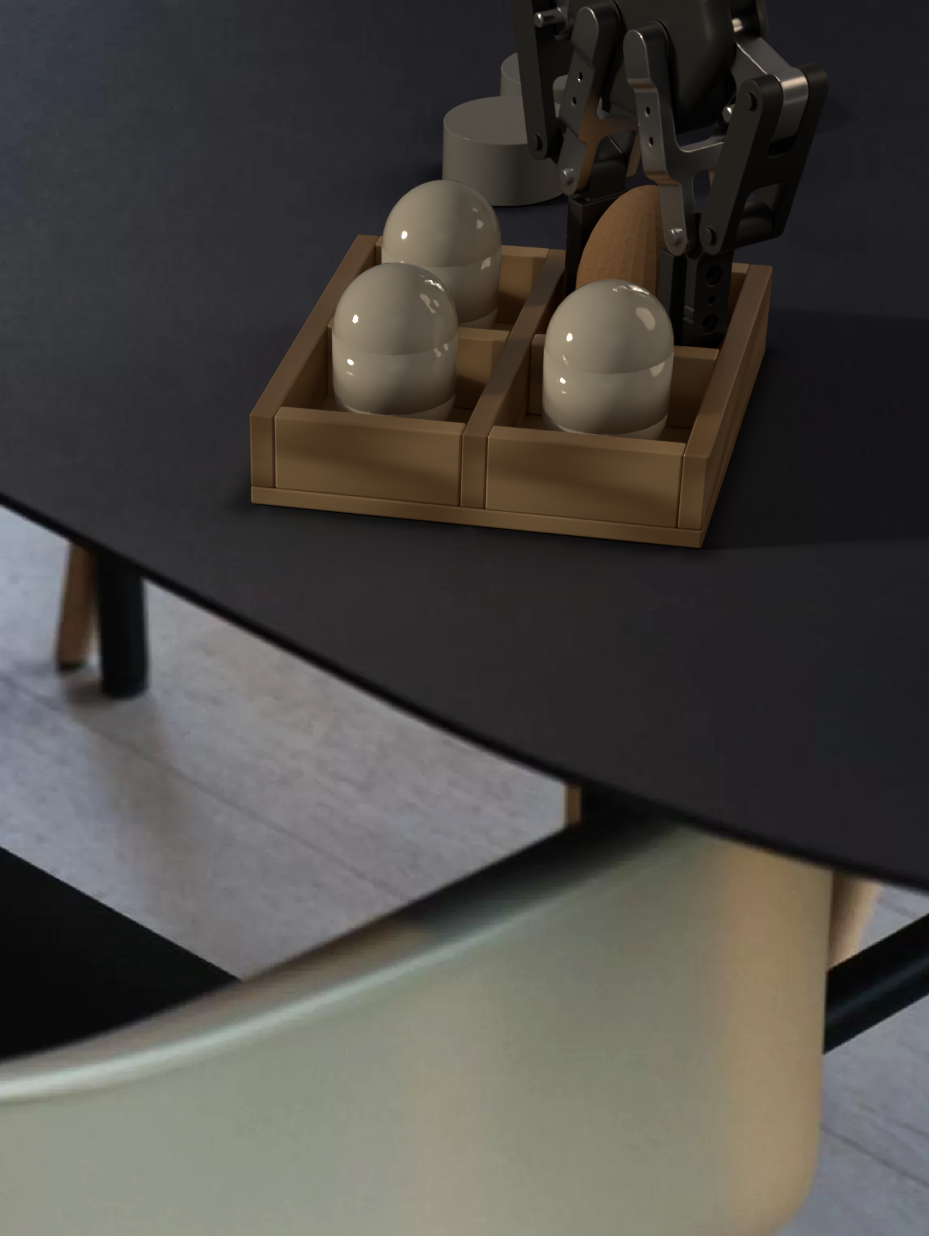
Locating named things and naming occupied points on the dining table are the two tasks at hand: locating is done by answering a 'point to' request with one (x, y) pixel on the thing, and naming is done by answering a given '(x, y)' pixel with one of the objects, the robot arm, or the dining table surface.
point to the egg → (626, 241)
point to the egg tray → (509, 425)
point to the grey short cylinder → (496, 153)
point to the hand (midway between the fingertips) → (641, 325)
